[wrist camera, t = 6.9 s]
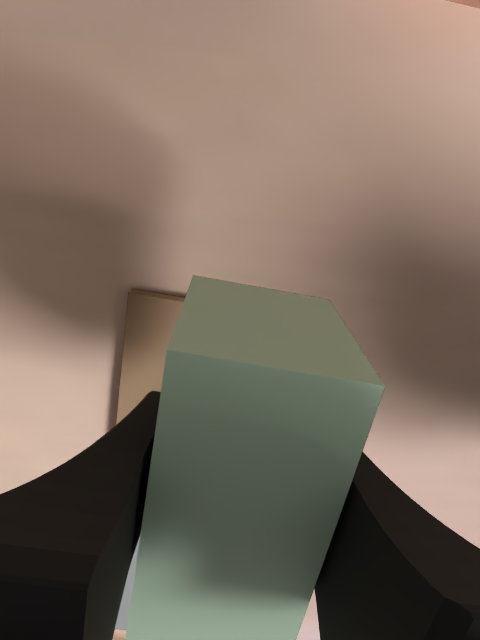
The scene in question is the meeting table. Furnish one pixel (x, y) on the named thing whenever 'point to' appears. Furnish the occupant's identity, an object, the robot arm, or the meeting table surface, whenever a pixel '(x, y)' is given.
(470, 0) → the terracotta brick
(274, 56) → the meeting table surface
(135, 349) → the walnut board
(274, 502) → the sage brick
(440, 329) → the meeting table surface
